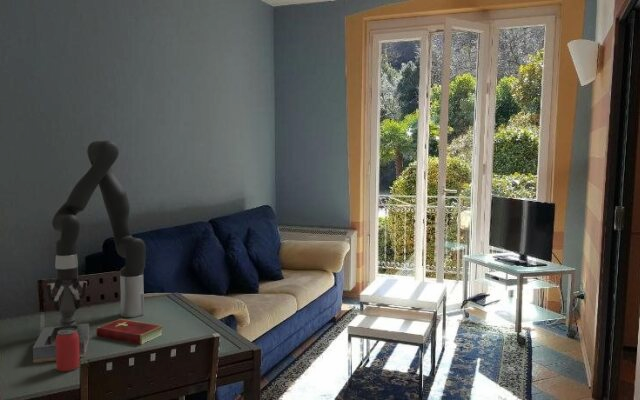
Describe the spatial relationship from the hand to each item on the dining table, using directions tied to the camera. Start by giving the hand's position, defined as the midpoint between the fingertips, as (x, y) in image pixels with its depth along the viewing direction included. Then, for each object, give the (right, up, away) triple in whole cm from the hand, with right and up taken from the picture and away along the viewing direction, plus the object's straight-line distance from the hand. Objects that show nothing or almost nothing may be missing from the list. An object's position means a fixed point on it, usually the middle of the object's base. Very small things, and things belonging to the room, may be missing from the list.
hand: (67, 309), depth 189 cm
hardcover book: (+25, -10, -2) cm, 27 cm away
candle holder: (0, -9, +1) cm, 9 cm away
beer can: (+17, -12, -32) cm, 38 cm away
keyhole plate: (+7, -10, -16) cm, 21 cm away
